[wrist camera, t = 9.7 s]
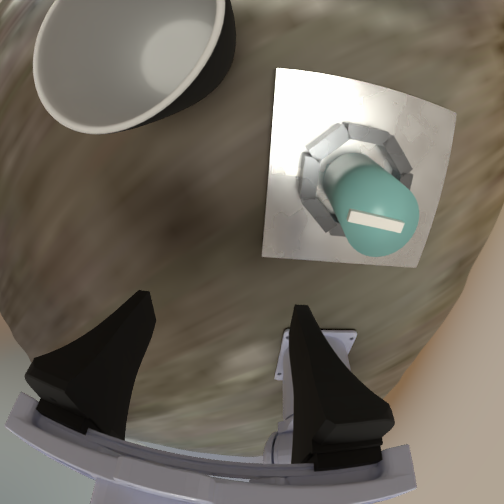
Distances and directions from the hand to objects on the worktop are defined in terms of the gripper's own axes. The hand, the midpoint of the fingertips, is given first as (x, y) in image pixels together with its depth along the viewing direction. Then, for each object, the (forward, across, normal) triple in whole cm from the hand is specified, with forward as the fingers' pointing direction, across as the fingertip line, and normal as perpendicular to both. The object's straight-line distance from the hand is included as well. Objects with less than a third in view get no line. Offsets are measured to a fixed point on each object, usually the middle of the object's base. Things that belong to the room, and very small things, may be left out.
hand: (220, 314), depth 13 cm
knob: (+9, -8, -5) cm, 13 cm away
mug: (+10, +6, -13) cm, 18 cm away
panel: (+10, -9, -5) cm, 14 cm away
